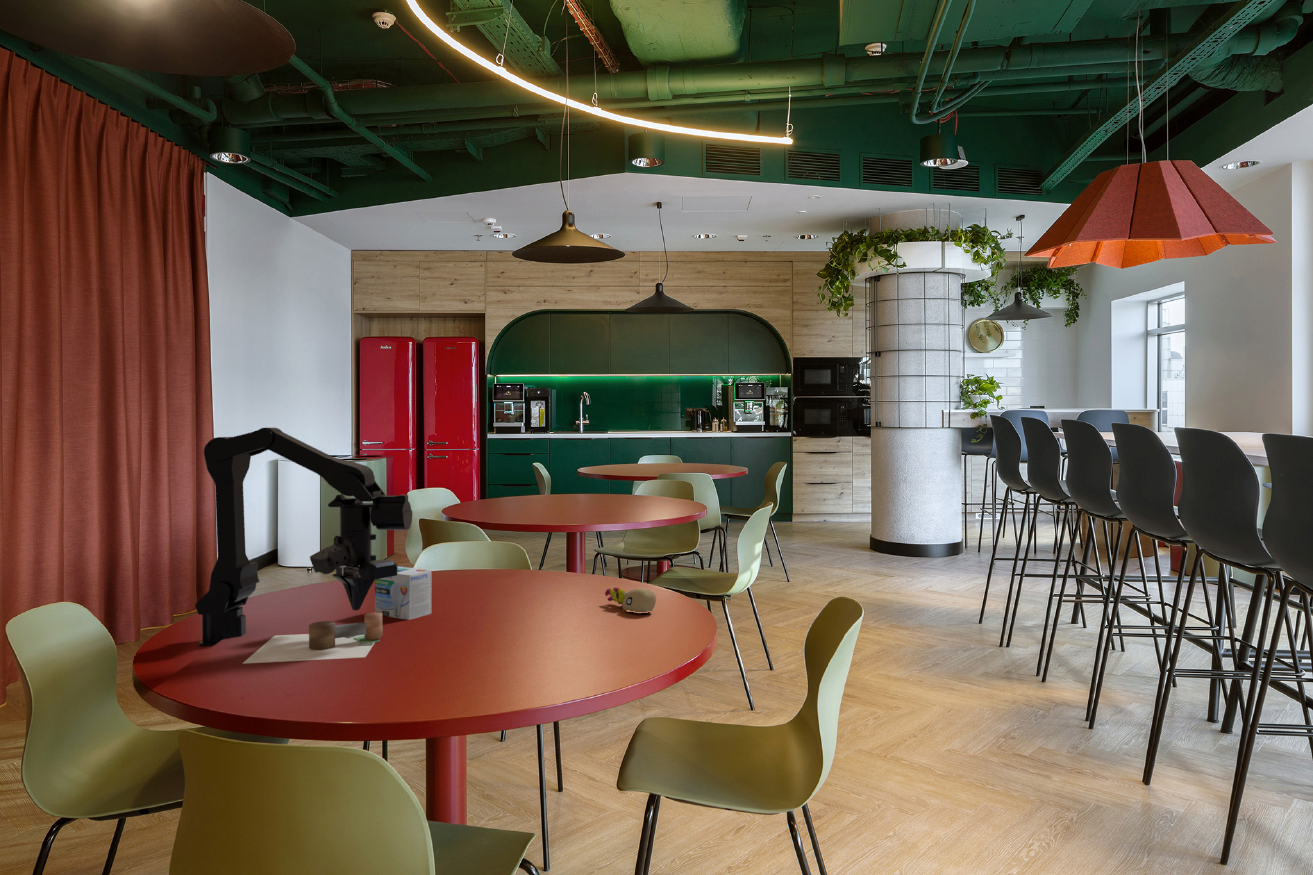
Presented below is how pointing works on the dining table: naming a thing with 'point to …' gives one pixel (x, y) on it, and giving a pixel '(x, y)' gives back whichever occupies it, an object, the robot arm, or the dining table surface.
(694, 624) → the dining table surface
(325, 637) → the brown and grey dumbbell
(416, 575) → the light bulb box
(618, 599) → the toy
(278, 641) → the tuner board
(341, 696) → the dining table surface
